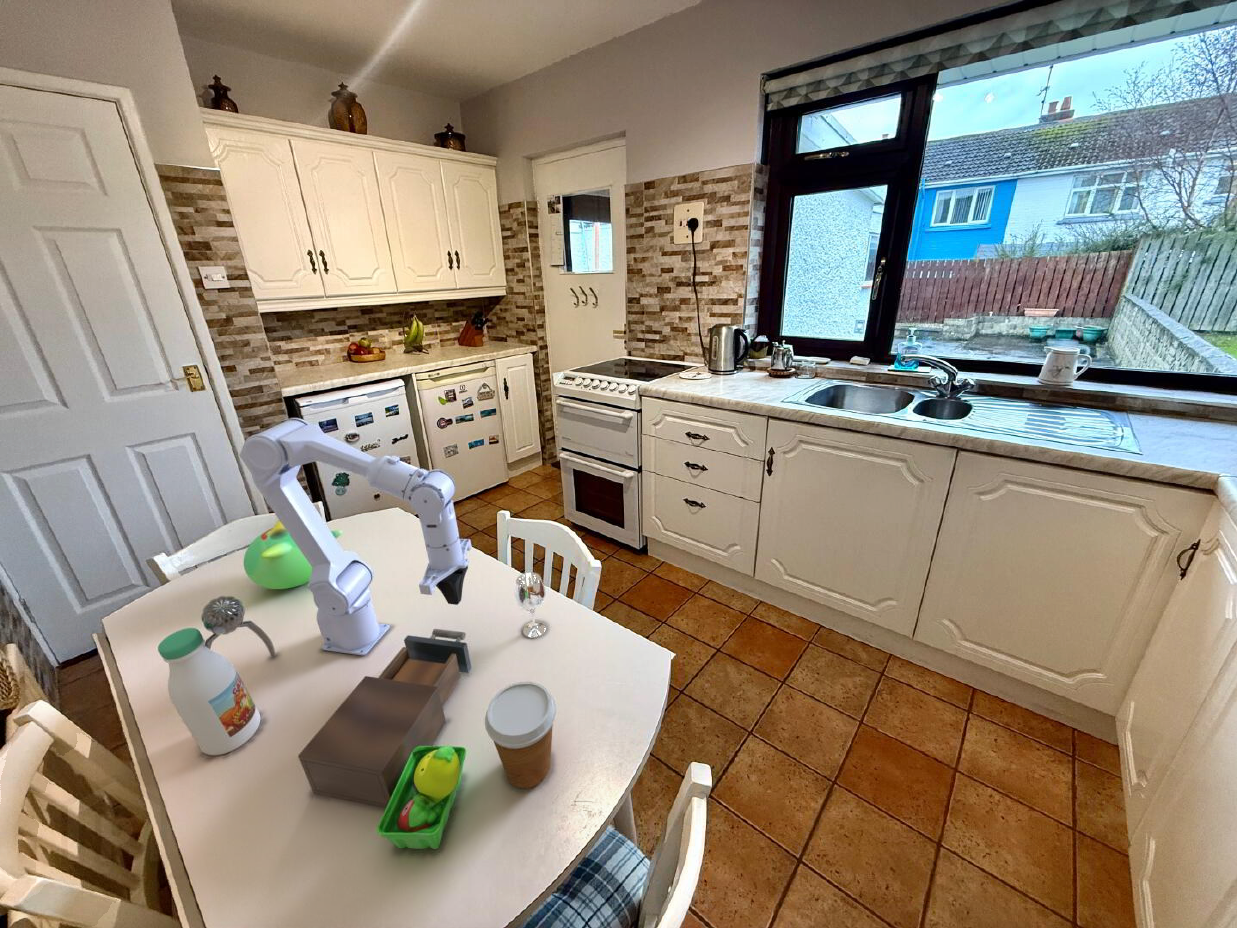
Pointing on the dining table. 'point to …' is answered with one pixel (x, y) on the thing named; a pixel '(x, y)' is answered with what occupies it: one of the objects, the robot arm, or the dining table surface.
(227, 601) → the juicer
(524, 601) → the wineglass
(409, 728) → the cabinet
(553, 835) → the dining table surface
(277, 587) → the toy bird
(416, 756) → the fruit basket
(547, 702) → the disposable coffee cup
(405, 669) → the wooden block
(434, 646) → the drawer
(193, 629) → the milk bottle
